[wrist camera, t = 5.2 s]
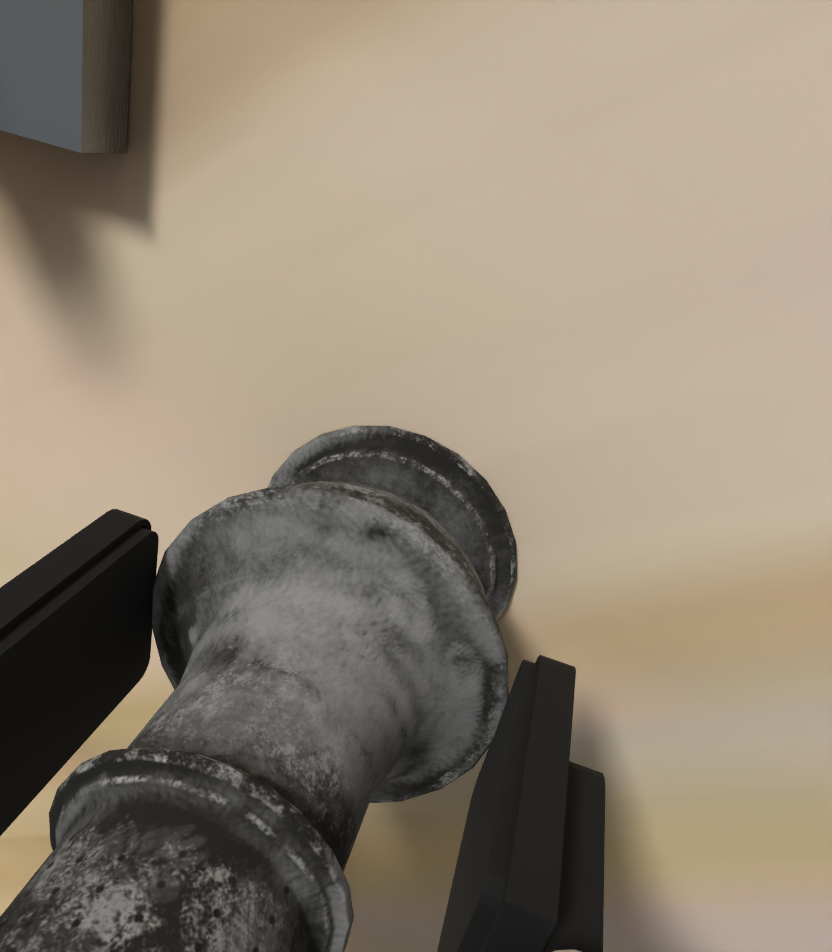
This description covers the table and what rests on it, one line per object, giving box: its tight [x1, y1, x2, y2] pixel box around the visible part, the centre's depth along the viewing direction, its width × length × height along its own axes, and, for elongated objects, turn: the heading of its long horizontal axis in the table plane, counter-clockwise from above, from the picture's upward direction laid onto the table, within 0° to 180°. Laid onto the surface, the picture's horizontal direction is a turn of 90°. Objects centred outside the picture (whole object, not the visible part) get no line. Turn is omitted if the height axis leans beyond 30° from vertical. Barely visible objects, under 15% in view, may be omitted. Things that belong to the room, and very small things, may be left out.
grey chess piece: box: [0, 426, 516, 952], centre depth 9 cm, size 6×6×12 cm
